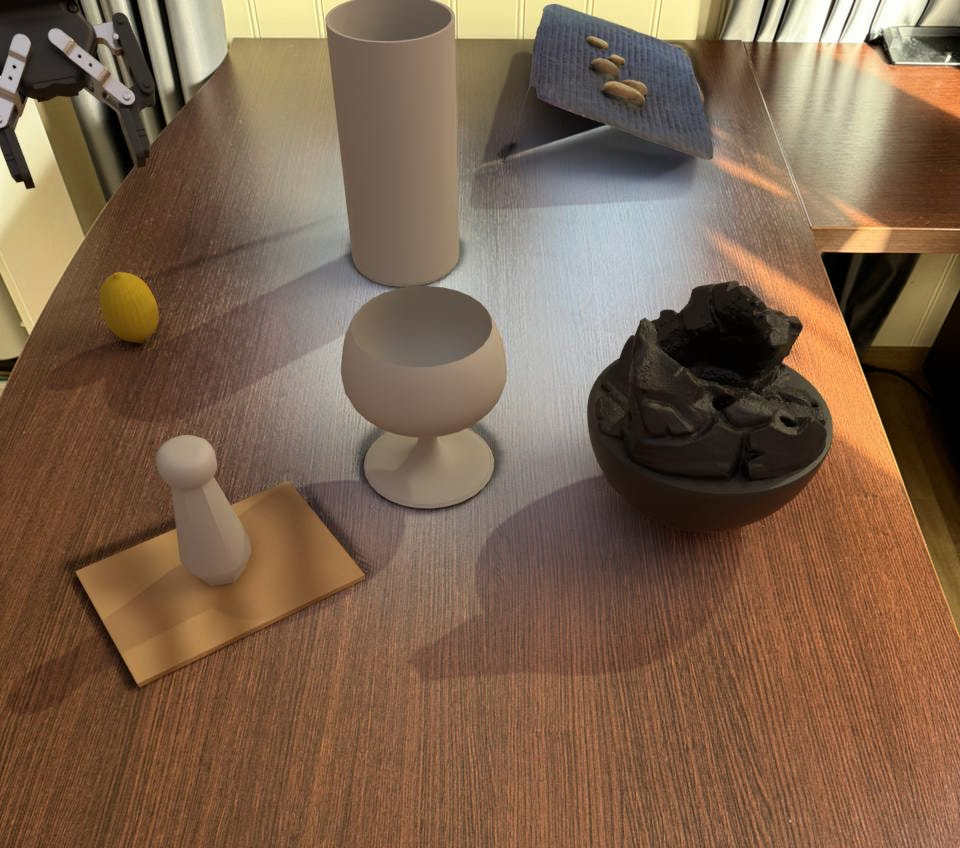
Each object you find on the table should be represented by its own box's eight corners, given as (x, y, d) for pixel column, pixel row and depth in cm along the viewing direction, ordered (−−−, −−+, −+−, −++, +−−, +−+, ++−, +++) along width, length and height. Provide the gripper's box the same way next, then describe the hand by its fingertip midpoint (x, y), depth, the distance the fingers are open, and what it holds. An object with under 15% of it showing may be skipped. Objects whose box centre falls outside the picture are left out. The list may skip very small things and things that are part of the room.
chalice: (338, 510, 83) (316, 368, 71) (371, 412, 92) (356, 271, 80) (493, 526, 82) (496, 385, 70) (512, 425, 90) (517, 284, 79)
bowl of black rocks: (808, 451, 88) (874, 266, 73) (790, 604, 76) (865, 421, 62) (602, 413, 92) (626, 229, 77) (554, 554, 80) (571, 369, 65)
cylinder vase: (459, 290, 105) (454, 42, 85) (349, 290, 105) (319, 42, 85) (459, 233, 113) (455, -6, 93) (357, 233, 113) (331, -6, 93)
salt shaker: (269, 555, 79) (238, 435, 69) (232, 602, 76) (193, 483, 65) (211, 536, 80) (172, 414, 70) (172, 581, 77) (125, 461, 67)
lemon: (126, 364, 96) (101, 294, 90) (105, 339, 99) (80, 269, 93) (175, 345, 98) (155, 276, 92) (154, 321, 101) (132, 252, 95)
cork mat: (139, 688, 71) (136, 683, 71) (77, 575, 78) (74, 571, 78) (365, 579, 78) (365, 574, 78) (289, 485, 85) (288, 480, 85)
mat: (512, 62, 151) (535, -18, 142) (668, 117, 155) (699, 42, 147) (501, 175, 121) (529, 81, 112) (694, 239, 125) (735, 153, 117)
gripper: (-112, -69, 64) (-19, 172, 66) (98, -94, 68) (178, 135, 70) (-83, -4, 71) (-1, 211, 73) (105, -30, 75) (177, 175, 77)
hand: (86, 174), depth 72 cm, fingers open, 8 cm apart
